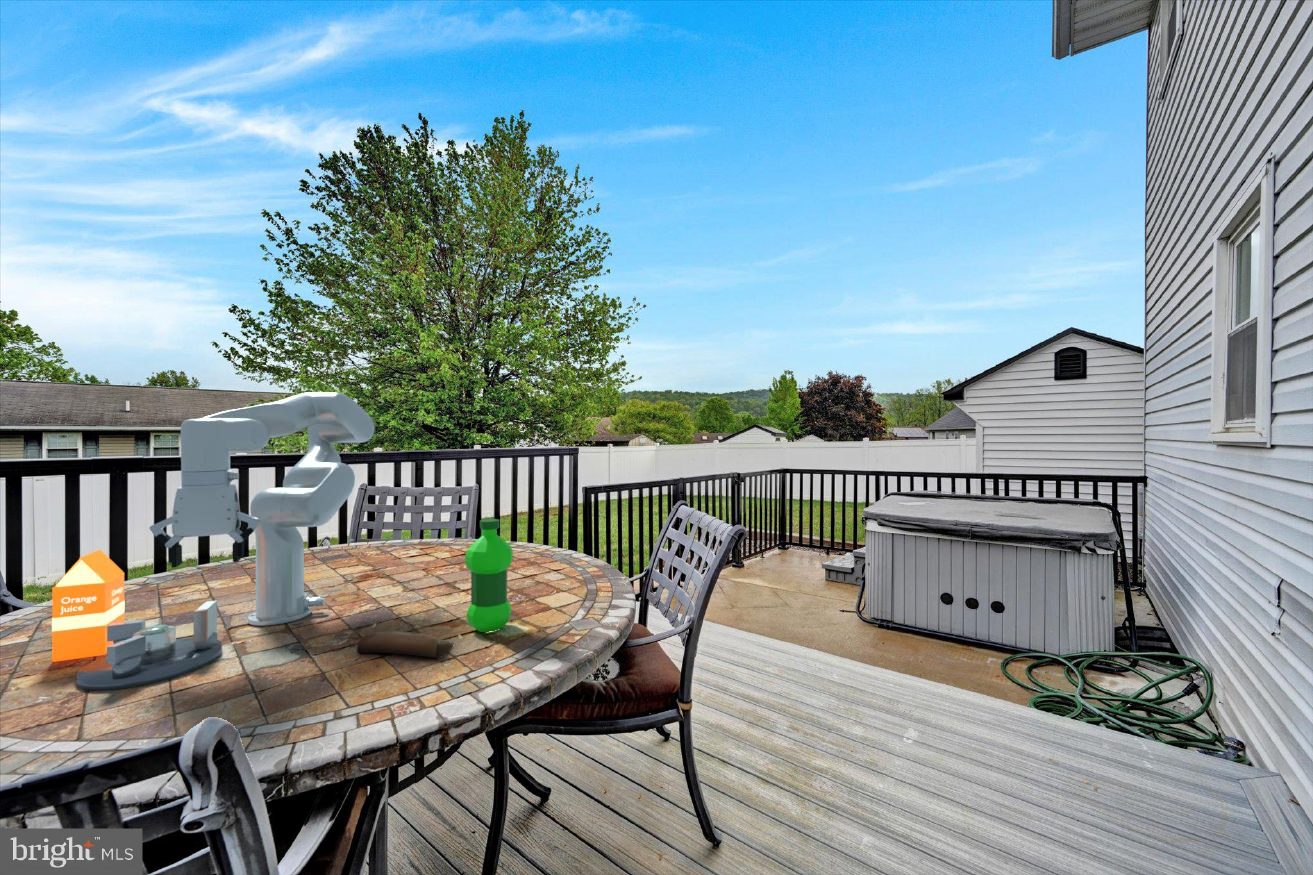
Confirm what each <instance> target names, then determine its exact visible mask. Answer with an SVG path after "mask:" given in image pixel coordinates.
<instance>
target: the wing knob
mask: <svg viewBox="0 0 1313 875" xmlns="http://www.w3.org/2000/svg"><path fill="white" fill-rule="evenodd" d="M217 629H218V600H210V601H205V602H204V603H203V604H202V605H200V606H199V607H198V608H196V609H195V610H193V638H194V648H195V649H204V648H208V647H212V646H214V645H216V644H217V640H218V632H216V631H217Z"/></svg>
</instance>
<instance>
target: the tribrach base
mask: <svg viewBox="0 0 1313 875" xmlns="http://www.w3.org/2000/svg"><path fill="white" fill-rule="evenodd" d="M176 632H177V631H176V626H172V625H168V624H157V625H153V626H147V627H146V619H141V620H131V621H124V622H121V623H112V624H110V625H108V626H107V642H109V641H113V645H110V646H107V654H106V655H104V656H103V657H100V658H98V659H95V660H93V661H91V662H89V663H87V664H86V665H85V666H82V667H81V668H80V669H79V670H78V671H77V674H76V685H77V687H79V688H80V689H82V690H87V691H97V692H98V691H116V690H122V689H123V690H124V689H131V688H137V687H143V686H146V685H152V684H156V683H160V682H163V681H166V680H167V681H168V680H171V679H174V678H177V677H180V676H181V677H182V676H184V675H187V674H189V673H190V674H191V673H192V672H194V671H197V670H199V669H202V668H204V667H206V666H208V665H210V664H211V663H213V662H215V661H217V659H218V658H220V657H221V655H222V653H223V643H222V642H221V641H220V640H219V639H217V644H216V645H214V646H212V647H208V648H204V649H195V648H194V637H186V638H184V637H183V638H177V639H176V637H177V636H176ZM214 660H215V661H214ZM209 663H210V664H209Z"/></svg>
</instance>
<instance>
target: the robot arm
mask: <svg viewBox="0 0 1313 875" xmlns="http://www.w3.org/2000/svg"><path fill="white" fill-rule="evenodd" d="M306 428H307V440H308V442H307V443H308V451H307V453H306V454H305V455H304V456H303V457H302V458H301V459H300V460H299V461H298V462H297V463H296V464H294V466H293V467H292V468H291V469H290V470H289V471H288V472H287V474H286V475H285V477H284V478H283V481H282V487H271V488H265V489H263V490H261V491H259V492H258V493H256V495H254V497H253V498H252V500H251V501H250V515H249V514H248V513H247V514H246V513H245V512H241V508H240V507H241V506H240V500H239V498H240V497H239V495H238V493H239V492H238V489H237V486H236V484H231V483H232V481H235V480H239V479H240V473H239V472H233V471H232V469H231V454H249V453H255V452H258V451H260V450H262V449H264V448H265V447H266V446H267V445H268V443H269V441H270V439H271V438H272V439H273V438H278V437H279V438H280V437H285V436H290V435H292V434H295V433H297V432H299V431H301V430H304V429H306ZM374 433H375V423H374V420H373V418H372V416H370V415H369V413H368V412H367V411H365V409H363V408H362V407H361V406H360V405H359V404H358V403H357V402H356V401H355V400H354V399H352V398H351V397H350V396H348V395H347V394H344V393H342V392H335V391H334V392H333V391H330V392H329V391H325V392H323V391H321V392H319V391H313V392H312V391H308V392H303V393H299V394H296V395H295V394H294V395H293V396H290V397H286V398H283V399H280V400H276V401H273V402H269V403H263V404H257V405H253V406H248V407H242V408H237V409H230V410H225V411H221V412H217V413H214V414H211V415H207V416H204V417H201V418H189V419H185V420H183V421H182V422H181V425H180V462H181V463H180V465H181V467H180V469H181V470H180V472H181V473H180V474H181V476H180V478H181V480H180V481H181V483H180V484H181V486H178V487H177V488H176V492H175V497H174V501H173V508H172V509H173V510H172V515H171V516H170V517H168V518H165V519H163V520H161V521H159V522H157V523H155V524H152V525H150V526H149V531H151V532H152V534H153V536H155V539H156V541H159V543H161V544H163V546H165V548H167V551H168V552H167V556H168V557H167V558H168V560H167V561H168V563H169V564H171V565H170V567H171V568H172V569H174V568H178V567H179V566H181V565H182V564H183V545H182V544H180V542H181V541H182V540H184V538H197V537H209V536H222V535H223V536H224V535H228V536H229V537H231V538H232V539H233V541H234V542H233V543H232V562H234V563H238V562H240V560H242V558H243V557H244V556H245V540H246V539H247V538H248V537H250V536H251V535H252V534H253V533H254V535H255V537H254V538H255V611H254V612H253V613H251V614H249V615H248V617H247V624H249V625H251V626H258V627H259V626H261V627H262V626H265V627H266V626H273V625H281V624H287V623H291V622H294V621H298V620H301V619H303V618H306V617H308V616H309V615H310V614H311V613H312V607H317V608H318V607H324V606H325V602H326V601H325V597H321V596H316V597H310V596H309V597H308V594H307V592H304V591H305V590H304V589H305V586H304V585H305V582H304V581H305V579H304V578H305V575H304V574H305V570H304V569H305V562H304V560H305V555H304V554H305V544H304V539H303V537H302V535H301V533H300V531H299V530H298V528H302V527H303V528H306V527H307V528H314V527H321V526H324V525H325V524H327V523H328V522H330V521H331V519H332V518H333V517H334V516H335V515H336V513H337V512H338V511H339V510H340V508H341V507H342V506H343V505H344V503H345V502H346V501H347V499H349V497H350V495H351V494H352V492H353V489H354V486H355V483H356V478H355V475H356V474H355V472H354V470H353V468H352V467H351V466H350V465H348V464H347V463H343V462H342V461H341V460H342V458H341V456H340V454H339V452H338V450H337V449H336V448H335V446H334V444H345V443H346V444H358V443H359V444H360V443H361V444H362V443H366V442H368V441H370V440H371V439H372V438H373V436H374ZM242 522H244V523H247V524H248V526H247V528H246V529H245V530H244V531H242V530H240V528H241V524H242ZM169 525H171V532H172V534H173V535H172V536H171V535H169V534H168V533H166V532H165V530H164V528H166V527H167V526H169Z"/></svg>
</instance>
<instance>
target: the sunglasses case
mask: <svg viewBox="0 0 1313 875" xmlns="http://www.w3.org/2000/svg"><path fill="white" fill-rule="evenodd" d="M454 644H455V643H453V642H452V641H451V642H450V641H448V640H446V639H441V638H435V637H433V636H430V635H429V634H428V633H417V632H415V631H414V632H406V631H393V630H392V631H379V632H373V633H369V634H365V635H364V636H362V637H361V638H360V639H359V641H358V642H357V646H356V652H357V654H364V653H365V654H368V653H369V654H370V653H371V654H375V653H378V654H382V653H384V654H385V653H387V654H394V655H408V656H419V657H426V658H436V660H439V659H441V658H442V657H444V655H443V654H445V653H446V654H447V653H448V652H449V650H450V649H451V648H452V647H453V645H454ZM453 648H454V647H453ZM453 648H452V649H453ZM452 649H451V650H452ZM451 650H450V651H451ZM447 651H448V652H447ZM446 654H445V655H446ZM441 656H442V657H441Z"/></svg>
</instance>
